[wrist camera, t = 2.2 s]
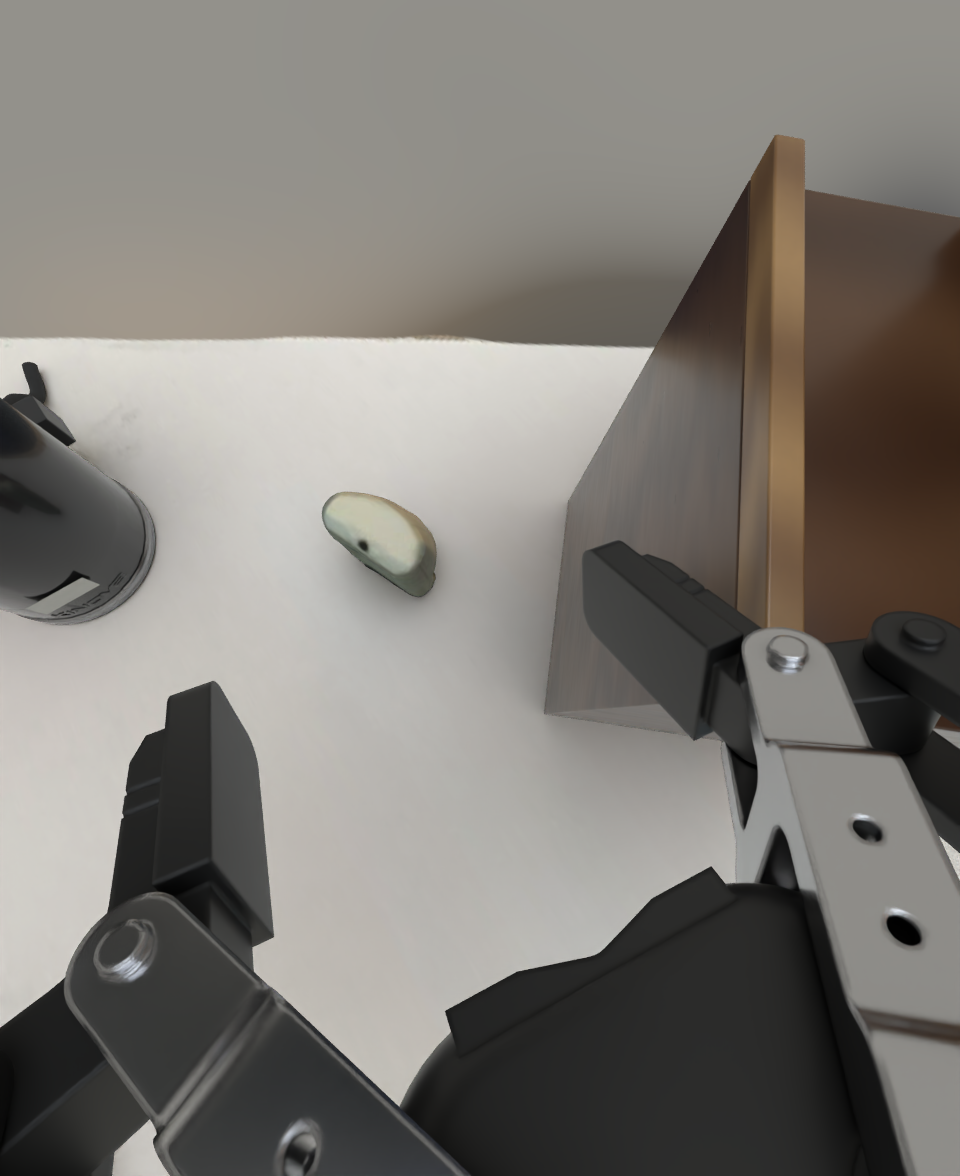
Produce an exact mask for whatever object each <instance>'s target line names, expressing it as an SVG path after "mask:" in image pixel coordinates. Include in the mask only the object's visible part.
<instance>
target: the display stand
mask: <svg viewBox="0 0 960 1176" xmlns="http://www.w3.org/2000/svg"><path fill="white" fill-rule="evenodd" d="M614 540H620V541H623V542H624V543H625V544H627V545H628V546H629V547H631V548H632V549H633V550H635V551H636V552H637V553H639V554H640V555H641V556H642V555H645V554H649V555H652V556H655V557H658V558H661V559H663V560H666V561H669V562H672V563H673V564H674V565H676V566H677V567H678V568H680V569H681V570H683V571H684V572H685V573H687V574H688V575H689V577H690V579H691V578H694V579H695V580H696V581H698V582H699V583H700V584H702V585H703V586H704V588H705V590H706V589H709V590H710V591H711V592H713V593H714V594H716V595H717V596H718V597H720V598H721V599H722V600H724V601H725V602H727V603H728V604H729V605H731V606H732V607H733V608H735V609H736V610H738V611H739V612H740V613H742V614H743V615H744V616H746V617H747V618H749V619H750V620H751V621H753V622H754V623H755V624H757V625H758V626H760V627H761V628H767V627H785V628H791V629H795V630H799V631H802V632H805V633H807V634H809V635H811V636H813V637H815V638H817V639H818V640H820V641H821V642H822V643H831V642H839V641H847V640H855V639H863V638H867V637H868V634H869V632H870V629H871V627H872V624H873V622H874V620H875V619H876V618H877V617H879V616H881V615H883V614H886V613H889V612H894V611H912V612H919V613H924V614H928V615H932V616H935V617H938V618H941V619H943V620H945V621H947V622H950V623H952V624H953V625H955V626H957V627H959V628H960V217H955V216H950V215H944V214H939V213H933V212H927V211H922V210H916V209H910V208H905V207H900V206H894V205H889V204H883V203H877V202H872V201H866V200H861V199H855V198H850V197H844V196H838V195H833V194H827V193H821V192H816V191H811V190H805V141H804V140H803V139H799V138H794V137H789V136H783V135H775V136H774V138H773V140H772V142H771V143H770V145H769V147H768V148H767V150H766V152H765V154H764V156H763V157H762V159H761V161H760V163H759V165H758V166H757V168H756V170H755V171H754V173H753V175H752V177H751V180H750V181H749V182H748V184H747V185H746V187H745V189H744V191H743V192H742V194H741V196H740V198H739V200H738V202H737V203H736V205H735V207H734V209H733V210H732V212H731V214H730V216H729V217H728V219H727V221H726V223H725V224H724V226H723V228H722V230H721V231H720V233H719V235H718V237H717V239H716V240H715V242H714V244H713V246H712V248H711V249H710V251H709V253H708V255H707V256H706V258H705V260H704V262H703V263H702V265H701V267H700V269H699V270H698V272H697V274H696V276H695V278H694V280H693V281H692V283H691V285H690V286H689V289H688V290H687V292H686V294H685V295H684V297H683V299H682V301H681V302H680V304H679V306H678V308H677V310H676V312H675V313H674V315H673V317H672V318H671V320H670V322H669V324H668V326H667V327H666V329H665V331H664V332H663V334H662V336H661V338H660V340H659V341H658V343H657V345H656V347H655V348H654V350H653V352H652V354H651V356H650V357H649V359H648V361H647V363H646V364H645V366H644V368H643V370H642V371H641V373H640V375H639V377H638V379H637V380H636V382H635V384H634V386H633V387H632V389H631V391H630V393H629V395H628V396H627V398H626V400H625V402H624V403H623V405H622V407H621V409H620V410H619V412H618V414H617V416H616V418H615V419H614V421H613V423H612V425H611V426H610V428H609V430H608V432H607V433H606V435H605V437H604V439H603V441H602V442H601V444H600V446H599V448H598V449H597V451H596V453H595V455H594V457H593V458H592V460H591V462H590V464H589V465H588V467H587V469H586V471H585V472H584V474H583V476H582V478H581V480H580V481H579V483H578V485H577V487H576V488H575V490H574V492H573V494H572V496H571V497H570V499H569V501H568V508H567V517H566V526H565V534H564V543H563V552H562V561H561V569H560V578H559V587H558V596H557V605H556V613H555V622H554V631H553V640H552V649H551V657H550V666H549V675H548V684H547V693H546V701H545V710H544V714H548V715H555V716H561V717H568V718H574V719H581V720H588V721H594V722H601V723H608V724H614V725H621V726H627V727H634V728H641V729H647V730H654V731H661V732H667V733H674V734H681V735H687V736H689V735H688V734H687V733H686V732H685V731H684V730H683V729H682V728H681V727H680V726H679V725H678V723H677V722H676V721H675V720H674V719H673V718H672V717H671V716H670V715H669V714H668V713H667V712H666V711H665V710H664V709H663V708H662V707H661V705H660V704H659V703H658V702H657V701H656V700H655V699H654V698H653V697H652V696H651V695H650V694H649V693H648V692H647V691H646V690H645V688H644V687H643V686H642V685H641V684H640V683H639V682H638V681H637V680H636V679H635V678H634V677H633V676H632V675H631V674H630V673H629V672H628V670H627V669H626V668H625V667H624V666H623V665H622V664H621V663H620V662H619V661H618V660H617V659H616V658H615V657H614V656H613V655H612V653H611V652H610V651H609V650H608V649H607V648H606V647H605V646H604V645H603V644H602V643H601V642H600V641H599V640H598V639H597V638H596V637H595V635H594V634H593V633H592V631H591V630H590V628H589V626H588V624H587V622H586V619H585V616H584V611H583V587H582V556H583V553H584V552H585V551H586V550H589V549H592V548H595V547H597V546H600V545H603V544H606V543H609V542H612V541H614ZM933 730H934V731H935V732H937V733H938V734H939V735H941V736H942V737H944V738H945V739H947V740H948V741H949V742H951V743H952V744H954V745H955V746H956V747H958V748H959V749H960V728H959V727H958V726H956V725H955V724H953V723H952V722H951V721H949V720H948V719H946V718H945V717H943V716H942V715H941V716H940V718H939V719H938V721H937V723H936V725H935V727H934V729H933ZM701 738H707V739H714V740H720V741H722V739H721V738H720V737H719V736H718V735H717V734H716V733H715V732H712V733H710V734H708V735H706V736H703V737H701Z"/></svg>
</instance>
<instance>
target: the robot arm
mask: <svg viewBox="0 0 960 1176" xmlns="http://www.w3.org/2000/svg"><path fill="white" fill-rule="evenodd" d="M22 367H23V371H24V374H25V377H26V380H27V382H28V385H29V388H30V393H29V395H27V394H9V395H7V396H6V397H4V398H3V399H1V398H0V610H4V611H8V612H11V613H15V614H17V615H20V616H22V617H25V618H28V619H31V620H35V621H39V622H44V623H49V624H75V623H81V622H85V621H89V620H92V619H94V618H97V617H100V616H102V615H104V614H106V613H108V612H110V611H111V610H113V609H115V608H116V607H117V606H119V605H120V604H122V603H123V602H124V601H125V600H126V599H127V598H129V597H130V596H131V595H132V594H133V592H134V591H135V590H136V589H137V588H138V587H139V585H140V584H141V582H142V581H143V579H144V578H145V576H146V574H147V572H148V570H149V568H150V565H151V562H152V559H153V555H154V549H155V531H154V526H153V522H152V519H151V517H150V514H149V512H148V511H147V509H146V507H145V506H144V504H143V503H142V502H141V500H140V499H139V498H138V497H137V496H136V495H134V494H133V493H132V492H131V491H130V490H128V489H127V488H125V487H124V486H123V485H121V484H120V483H118V482H117V481H115V480H113V479H111V478H109V477H108V476H106V475H105V474H104V473H102V472H101V471H99V470H98V469H97V468H95V467H94V466H93V465H92V464H90V463H89V462H88V461H86V460H85V459H83V458H82V457H81V456H79V455H78V454H77V453H75V452H74V451H73V450H71V449H70V448H68V447H67V446H69V445H71V444H72V443H74V442H76V440H75V439H74V437H73V436H72V434H71V433H70V431H69V429H68V428H67V426H66V425H65V423H64V422H63V420H62V419H61V418H60V417H59V416H57V415H56V414H55V413H54V412H52V411H51V410H50V409H48V408H47V407H46V406H45V405H43V403H44V401H45V399H46V393H45V387H44V384H43V381H42V378H41V376H40V373H39V370H38V366H37V365H36V364H35V363H31V362H25V363H23V364H22ZM582 587H583V611H584V616H585V619H586V622H587V624H588V626H589V628H590V630H591V631H592V633H593V634H594V635H595V637H596V638H597V639H598V640H599V641H600V642H601V643H602V644H603V645H604V646H605V647H606V648H607V649H608V650H609V651H610V652H611V653H612V655H613V656H614V657H615V658H616V659H617V660H618V661H619V662H620V663H621V664H622V665H623V666H624V667H625V668H626V669H627V670H628V672H629V673H630V674H631V675H632V676H633V677H634V678H635V679H636V680H637V681H638V682H639V683H640V684H641V685H642V686H643V687H644V688H645V690H646V691H647V692H648V693H649V694H650V695H651V696H652V697H653V698H654V699H655V700H656V701H657V702H658V703H659V704H660V705H661V707H662V708H663V709H664V710H665V711H666V712H667V713H668V714H669V715H670V716H671V717H672V718H673V719H674V720H675V721H676V722H677V723H678V725H679V726H680V727H681V728H682V729H683V730H684V731H685V732H686V733H687V734H688V735H689V736H690V737H691V738H692V739H693V740H694V741H695V740H697V739H699V738H701V737H703V736H706V735H708V734H710V733H712V732H715V733H716V734H717V735H718V736H719V737H720V738H721V739H722V745H721V755H722V761H723V767H724V773H725V779H726V786H727V792H728V798H729V804H730V810H731V816H732V822H733V828H734V834H735V841H736V866H735V875H736V883H729V884H725V883H724V882H723V880H722V879H721V878H720V877H719V875H718V874H717V873H716V872H715V870H714V869H713V868H712V866H711V867H709V868H707V869H705V870H704V871H702V872H700V873H698V874H696V875H694V876H693V877H691V878H689V879H687V880H685V881H683V882H681V883H680V884H678V885H676V886H674V887H672V888H670V889H669V890H667V891H665V892H663V893H661V894H659V895H658V896H656V897H654V898H652V899H651V900H650V901H649V902H648V903H647V904H646V905H645V907H644V908H643V909H642V910H641V911H640V912H639V913H638V914H637V915H636V916H635V917H634V918H633V919H632V920H631V921H630V922H629V923H628V924H627V925H626V926H625V928H624V929H623V930H622V931H621V932H620V933H619V934H618V935H617V936H616V937H615V938H614V939H613V940H612V941H611V942H610V943H609V944H608V945H607V946H606V948H605V949H603V950H602V951H601V952H600V953H598V954H596V955H594V956H591V957H587V958H582V959H577V960H572V961H567V962H562V963H557V964H553V965H548V966H543V967H538V968H533V969H528V970H523V971H518V972H516V973H514V974H512V975H510V976H508V977H507V978H505V979H503V980H501V981H499V982H497V983H496V984H494V985H492V986H490V987H488V988H486V989H485V990H483V991H481V992H479V993H477V994H475V995H473V996H472V997H470V998H468V999H466V1000H464V1001H462V1002H461V1003H459V1004H457V1005H455V1006H453V1007H451V1008H450V1009H448V1010H446V1011H445V1013H446V1016H447V1019H448V1023H449V1026H450V1029H451V1033H450V1034H449V1035H448V1036H447V1037H446V1038H445V1039H444V1040H443V1041H442V1042H441V1043H440V1044H439V1045H438V1046H437V1047H436V1049H435V1050H434V1051H433V1053H432V1054H431V1055H430V1056H429V1058H428V1059H427V1060H426V1061H425V1063H424V1064H423V1065H422V1067H421V1069H420V1070H419V1072H418V1073H417V1075H416V1077H415V1078H414V1080H413V1082H412V1083H411V1085H410V1086H409V1088H408V1090H407V1092H406V1094H405V1097H404V1099H403V1101H402V1103H401V1105H400V1107H399V1106H398V1105H397V1104H396V1103H394V1102H393V1101H392V1100H391V1099H390V1098H389V1097H388V1096H387V1095H386V1094H385V1093H384V1092H383V1091H382V1090H381V1089H380V1088H379V1087H378V1086H376V1085H375V1084H374V1083H373V1082H372V1081H371V1080H370V1079H369V1078H368V1077H367V1076H366V1075H365V1074H364V1073H363V1072H362V1071H361V1070H360V1069H358V1068H357V1067H356V1066H355V1065H354V1064H353V1063H352V1062H351V1061H350V1060H349V1059H348V1058H347V1057H346V1056H345V1055H344V1054H343V1053H341V1052H340V1051H339V1050H338V1049H337V1048H336V1047H335V1046H334V1045H333V1044H332V1043H331V1042H330V1041H329V1040H328V1039H327V1038H326V1037H325V1036H323V1035H322V1034H321V1033H320V1032H319V1031H318V1030H317V1029H316V1028H315V1027H314V1026H313V1025H312V1024H311V1023H310V1022H309V1021H308V1020H307V1019H305V1018H304V1017H303V1016H302V1015H301V1014H300V1013H299V1012H298V1011H297V1010H296V1009H295V1008H294V1007H293V1006H292V1005H291V1004H290V1003H289V1002H287V1001H286V1000H285V999H284V998H283V997H282V996H281V995H280V994H279V993H278V992H277V991H275V990H274V989H273V988H272V987H270V986H268V985H267V984H266V983H265V982H264V981H263V980H262V979H261V978H260V977H259V976H258V975H257V974H256V973H254V969H253V953H252V947H254V946H256V945H258V944H260V943H263V942H265V941H267V940H269V939H271V938H273V937H274V931H273V920H272V909H271V899H270V888H269V877H268V866H267V856H266V845H265V834H264V823H263V812H262V802H261V791H260V780H259V769H258V762H257V758H256V754H255V751H254V748H253V745H252V742H251V740H250V738H249V736H248V734H247V732H246V730H245V729H244V727H243V725H242V723H241V722H240V720H239V718H238V717H237V715H236V713H235V711H234V710H233V708H232V706H231V705H230V703H229V701H228V699H227V698H226V696H225V694H224V693H223V691H222V689H221V688H220V686H219V685H218V684H217V683H216V682H215V681H211V682H208V683H206V684H203V685H200V686H197V687H194V688H191V689H189V690H186V691H183V692H180V693H177V694H174V695H172V696H170V697H169V698H168V701H167V710H166V722H165V729H163V730H160V731H157V732H154V733H152V734H149V735H146V736H145V738H144V740H143V741H142V743H141V745H140V747H139V748H138V750H137V752H136V753H135V755H134V757H133V758H132V760H131V762H130V764H129V771H128V777H127V784H126V792H127V795H126V796H125V798H124V805H123V812H122V813H123V815H124V818H123V819H121V826H120V832H119V839H118V846H117V853H116V860H115V867H114V874H113V881H112V888H111V894H110V901H109V907H108V912H107V914H106V915H105V916H104V917H102V918H101V919H100V920H99V921H98V922H97V923H96V924H95V925H94V926H93V927H92V928H91V929H90V931H89V932H88V933H87V935H86V936H85V937H84V938H83V940H82V941H81V943H80V944H79V946H78V947H77V949H76V951H75V953H74V955H73V957H72V959H71V961H70V964H69V966H68V969H67V972H66V977H65V978H64V979H63V980H62V981H61V982H60V983H58V984H57V985H56V986H55V987H54V988H52V989H51V990H50V991H49V992H47V993H46V994H45V995H43V996H42V997H41V998H39V999H38V1000H37V1001H35V1002H34V1003H33V1004H31V1005H30V1006H29V1007H27V1008H26V1009H25V1010H23V1011H22V1012H21V1013H19V1014H18V1015H17V1016H15V1017H14V1018H13V1019H11V1020H10V1021H9V1022H7V1023H6V1024H5V1025H3V1026H2V1027H1V1028H0V1176H112V1170H113V1159H114V1152H115V1151H116V1150H117V1149H118V1148H119V1147H120V1146H121V1145H122V1144H124V1143H125V1142H126V1141H127V1140H128V1139H129V1138H130V1137H131V1136H132V1135H133V1134H134V1133H135V1132H136V1131H138V1130H139V1129H140V1128H141V1127H142V1126H143V1125H144V1124H145V1123H146V1122H147V1121H148V1120H149V1119H150V1120H151V1121H152V1123H153V1125H154V1127H155V1129H156V1132H157V1135H156V1136H155V1137H154V1139H153V1144H154V1148H155V1151H156V1153H157V1155H158V1157H159V1159H160V1161H161V1162H162V1164H163V1166H164V1167H165V1169H166V1170H167V1172H168V1173H169V1175H170V1176H960V881H959V878H958V876H957V874H956V872H955V870H954V868H953V866H952V863H951V861H950V859H949V857H948V855H947V853H946V851H945V848H944V846H943V844H942V842H941V840H940V838H939V836H940V837H941V838H942V839H944V840H945V841H946V842H947V843H948V844H950V845H951V846H952V847H953V848H954V849H955V850H957V851H958V852H959V853H960V749H959V748H958V747H956V746H955V745H954V744H952V743H951V742H949V741H948V740H947V739H945V738H944V737H942V736H941V735H939V734H938V733H937V732H935V731H934V730H933V729H934V727H935V725H936V723H937V721H938V719H939V718H940V716H941V715H942V716H943V717H945V718H946V719H948V720H949V721H951V722H952V723H953V724H955V725H956V726H958V727H959V728H960V628H959V627H957V626H955V625H953V624H952V623H950V622H947V621H945V620H943V619H941V618H938V617H935V616H932V615H928V614H924V613H919V612H912V611H894V612H889V613H886V614H883V615H881V616H879V617H877V618H876V619H875V620H874V622H873V624H872V627H871V629H870V632H869V634H868V637H867V638H863V639H855V640H847V641H839V642H831V643H822V642H821V641H820V640H818V639H817V638H815V637H813V636H811V635H809V634H807V633H805V632H802V631H799V630H795V629H791V628H785V627H767V628H761V627H760V626H758V625H757V624H755V623H754V622H753V621H751V620H750V619H749V618H747V617H746V616H744V615H743V614H742V613H740V612H739V611H738V610H736V609H735V608H733V607H732V606H731V605H729V604H728V603H727V602H725V601H724V600H722V599H721V598H720V597H718V596H717V595H716V594H714V593H713V592H711V591H710V590H709V589H706V590H705V588H704V586H703V585H702V584H700V583H699V582H698V581H696V580H695V579H694V578H691V579H690V577H689V575H688V574H687V573H685V572H684V571H683V570H681V569H680V568H678V567H677V566H676V565H674V564H673V563H672V562H669V561H666V560H663V559H661V558H658V557H655V556H652V555H649V554H645V555H642V556H641V555H640V554H639V553H637V552H636V551H635V550H633V549H632V548H631V547H629V546H628V545H627V544H625V543H624V542H623V541H620V540H614V541H612V542H609V543H606V544H603V545H600V546H597V547H595V548H592V549H589V550H586V551H585V552H584V553H583V556H582Z"/></svg>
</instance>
